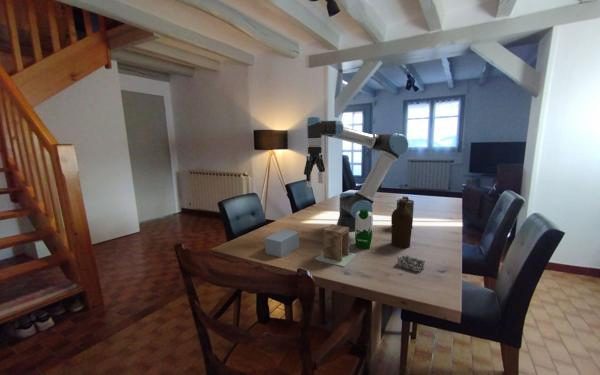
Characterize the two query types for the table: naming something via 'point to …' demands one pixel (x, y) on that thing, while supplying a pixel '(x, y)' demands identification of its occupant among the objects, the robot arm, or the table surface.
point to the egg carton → (413, 261)
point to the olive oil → (401, 225)
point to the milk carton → (363, 229)
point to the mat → (343, 263)
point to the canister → (407, 204)
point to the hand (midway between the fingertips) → (315, 185)
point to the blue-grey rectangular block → (282, 242)
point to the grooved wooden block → (336, 242)
